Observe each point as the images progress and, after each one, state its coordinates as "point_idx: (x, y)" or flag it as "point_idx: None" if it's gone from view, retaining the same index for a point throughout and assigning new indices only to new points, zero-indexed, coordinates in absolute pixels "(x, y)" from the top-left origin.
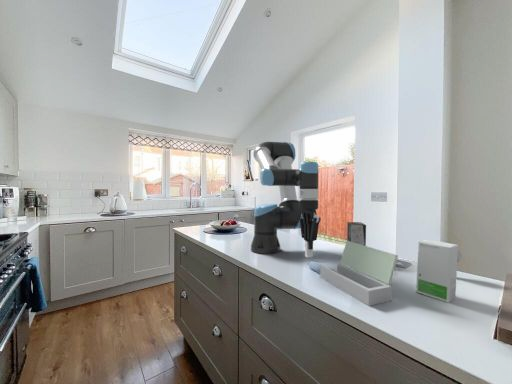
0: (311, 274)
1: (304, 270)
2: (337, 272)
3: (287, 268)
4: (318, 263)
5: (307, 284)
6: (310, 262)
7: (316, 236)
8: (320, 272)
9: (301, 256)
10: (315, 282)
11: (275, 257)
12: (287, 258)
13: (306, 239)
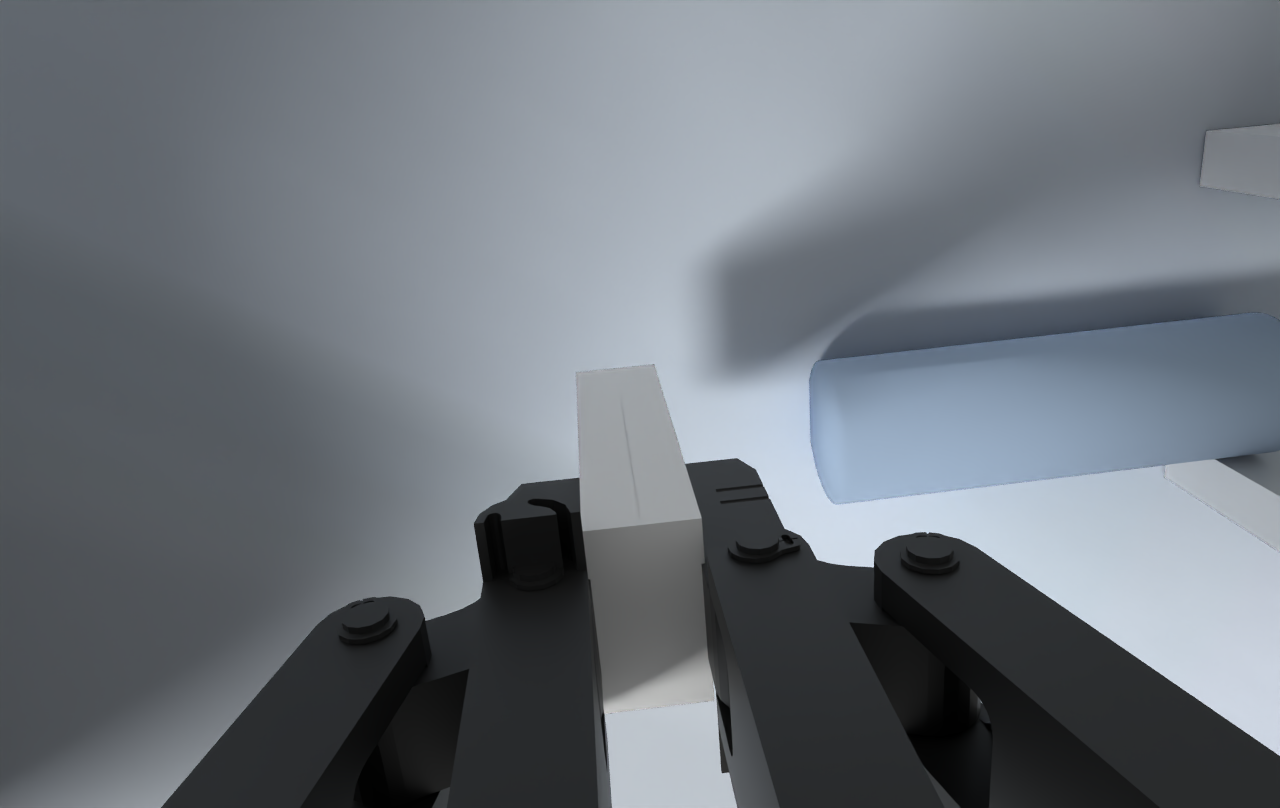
0: (1017, 536)
1: (843, 562)
2: (1237, 189)
3: (691, 747)
4: (1003, 424)
5: (1253, 706)
6: (850, 499)
7: (1058, 630)
8: (1213, 509)
9: (58, 285)
10: (1253, 603)
11: (95, 766)
12: (180, 597)
13: (604, 697)
